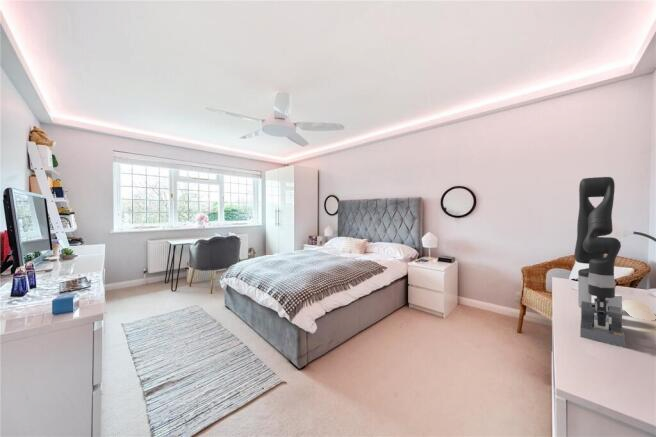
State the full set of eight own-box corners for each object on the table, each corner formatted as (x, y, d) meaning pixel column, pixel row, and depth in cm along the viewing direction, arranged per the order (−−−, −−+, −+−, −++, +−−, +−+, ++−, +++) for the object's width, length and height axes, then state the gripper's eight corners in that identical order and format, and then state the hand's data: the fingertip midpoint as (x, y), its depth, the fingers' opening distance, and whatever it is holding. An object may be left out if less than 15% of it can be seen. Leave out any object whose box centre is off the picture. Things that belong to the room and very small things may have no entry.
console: (581, 319, 120) (581, 301, 119) (620, 327, 111) (619, 307, 111) (580, 336, 103) (580, 315, 103) (625, 347, 94) (624, 324, 94)
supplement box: (623, 322, 115) (623, 296, 115) (604, 321, 116) (603, 295, 116) (608, 316, 122) (608, 291, 122) (590, 315, 124) (590, 290, 123)
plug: (594, 331, 106) (594, 312, 106) (611, 335, 102) (611, 316, 102) (594, 333, 104) (594, 314, 104) (611, 337, 100) (611, 318, 100)
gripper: (588, 279, 110) (588, 315, 111) (588, 286, 101) (588, 325, 101) (613, 282, 105) (613, 320, 105) (616, 290, 95) (616, 331, 96)
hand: (601, 322), depth 103 cm, fingers open, 8 cm apart
